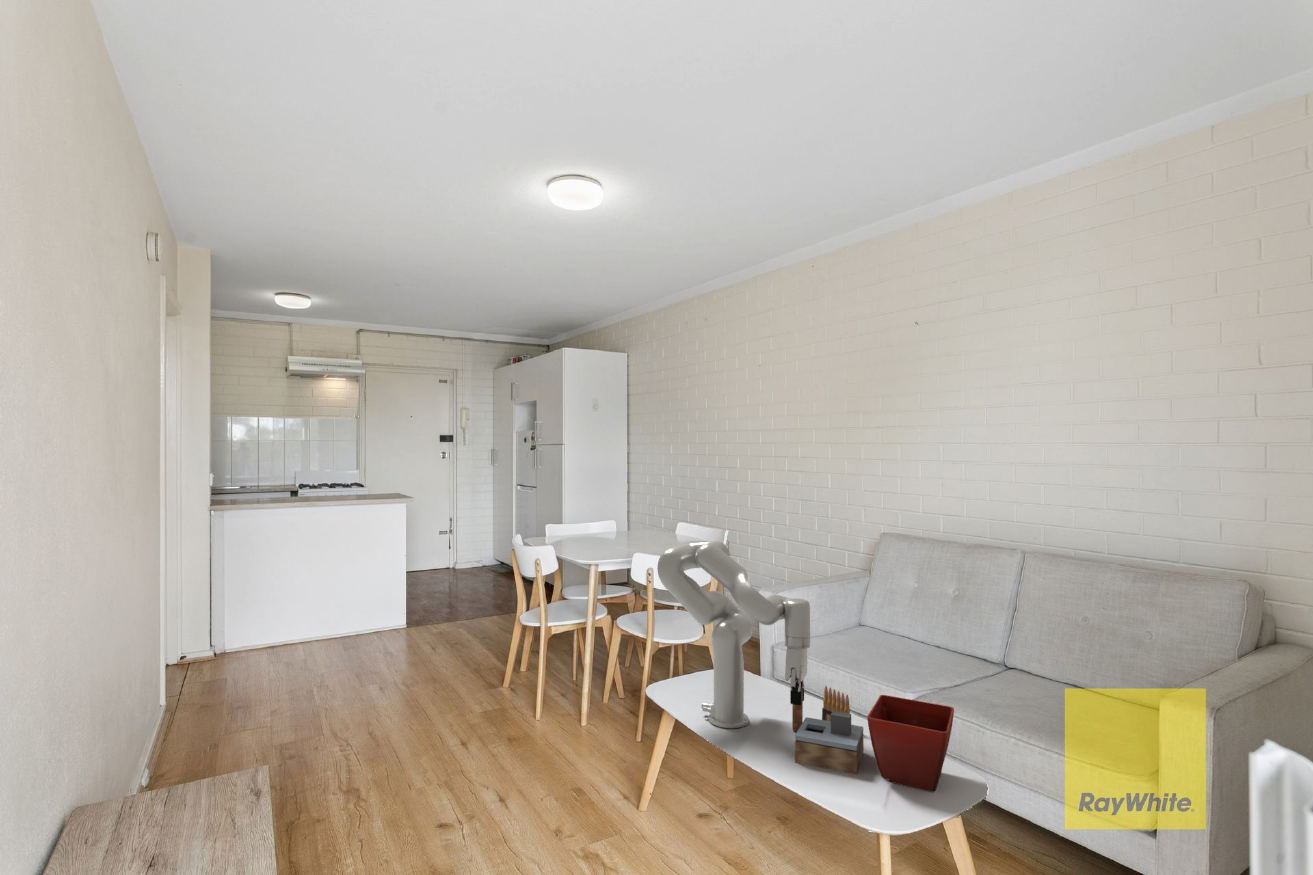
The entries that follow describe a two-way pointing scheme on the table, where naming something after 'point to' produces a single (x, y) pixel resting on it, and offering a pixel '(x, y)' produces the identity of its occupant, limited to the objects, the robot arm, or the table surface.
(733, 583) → the robot arm
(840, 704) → the ammunition clip
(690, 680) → the table surface
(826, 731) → the toolbox lid
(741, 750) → the table surface
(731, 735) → the table surface
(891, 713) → the plant pot
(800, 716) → the brown rounded cylinder
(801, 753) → the brown hollow box
